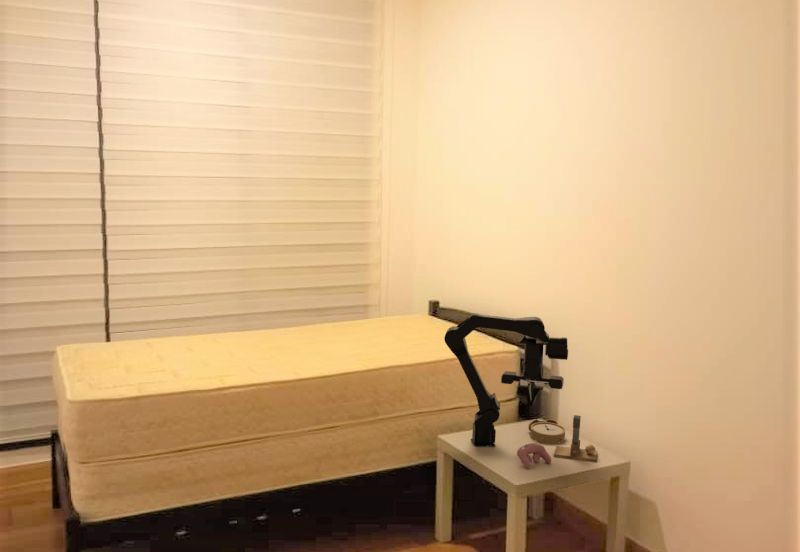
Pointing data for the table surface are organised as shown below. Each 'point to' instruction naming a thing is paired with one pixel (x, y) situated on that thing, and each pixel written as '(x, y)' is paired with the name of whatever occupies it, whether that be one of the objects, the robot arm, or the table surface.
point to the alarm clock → (546, 431)
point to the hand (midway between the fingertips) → (531, 406)
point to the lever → (576, 429)
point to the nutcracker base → (576, 452)
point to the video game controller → (537, 453)
